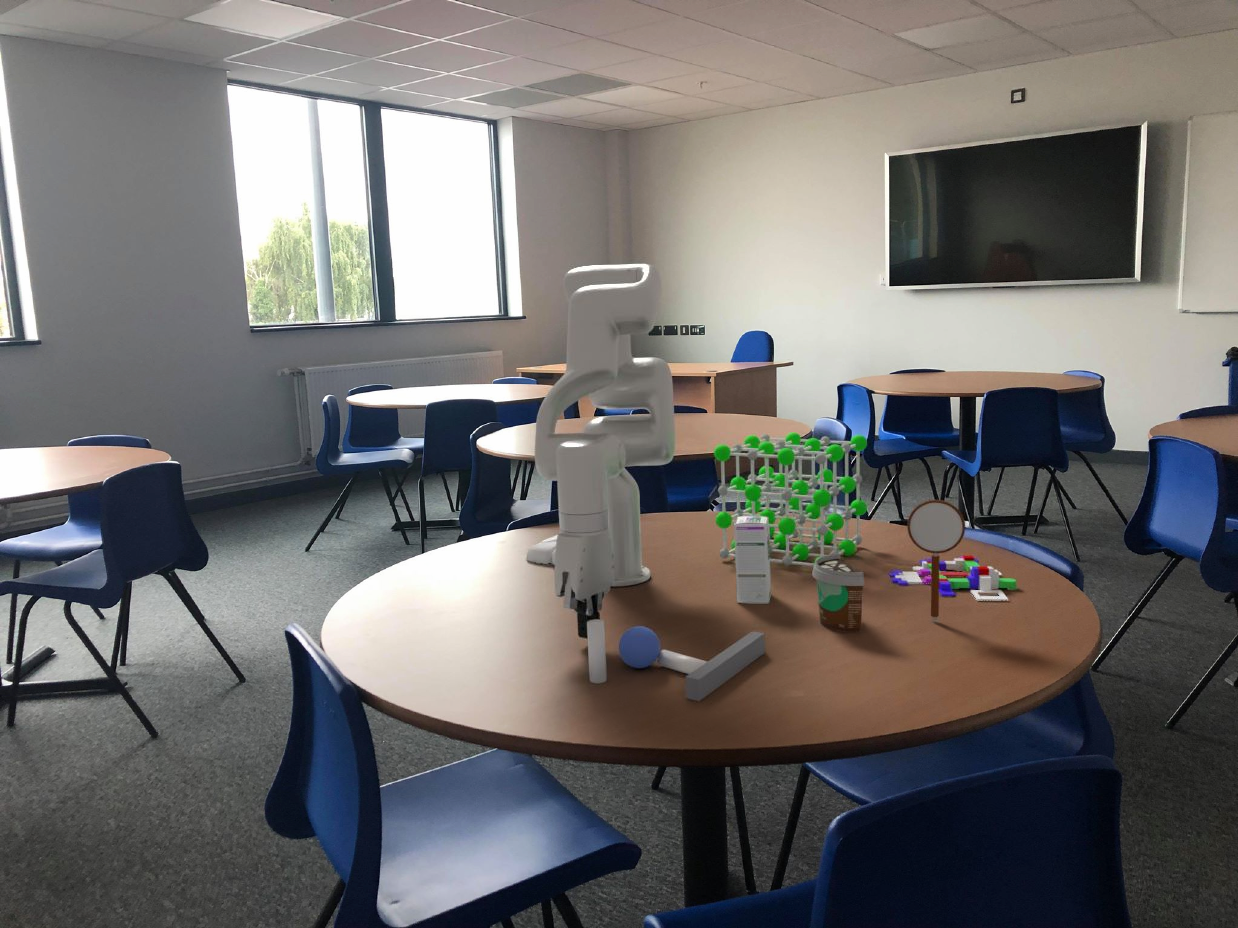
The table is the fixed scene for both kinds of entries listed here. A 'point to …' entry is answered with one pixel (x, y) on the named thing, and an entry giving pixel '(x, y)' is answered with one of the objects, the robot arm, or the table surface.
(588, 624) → the grey pin
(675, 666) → the white pin
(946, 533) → the magnifying glass
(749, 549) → the syrup box
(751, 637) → the stopper wall
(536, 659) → the table surface
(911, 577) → the building block set
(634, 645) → the ball
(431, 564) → the table surface
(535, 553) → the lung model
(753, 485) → the molecular structure model
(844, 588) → the food container
